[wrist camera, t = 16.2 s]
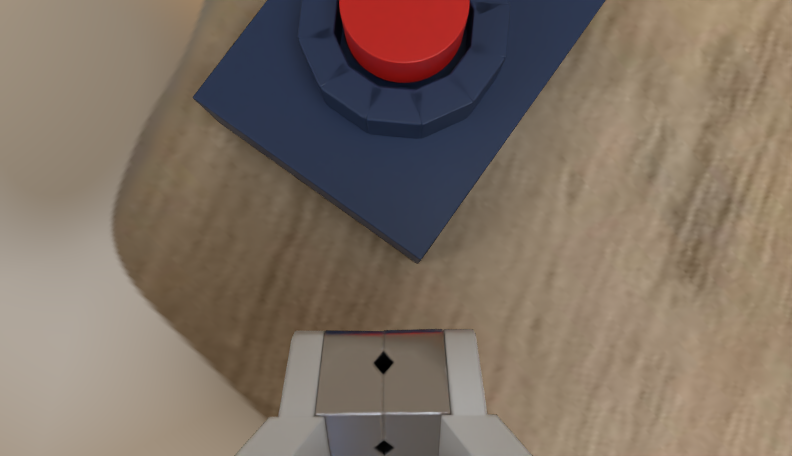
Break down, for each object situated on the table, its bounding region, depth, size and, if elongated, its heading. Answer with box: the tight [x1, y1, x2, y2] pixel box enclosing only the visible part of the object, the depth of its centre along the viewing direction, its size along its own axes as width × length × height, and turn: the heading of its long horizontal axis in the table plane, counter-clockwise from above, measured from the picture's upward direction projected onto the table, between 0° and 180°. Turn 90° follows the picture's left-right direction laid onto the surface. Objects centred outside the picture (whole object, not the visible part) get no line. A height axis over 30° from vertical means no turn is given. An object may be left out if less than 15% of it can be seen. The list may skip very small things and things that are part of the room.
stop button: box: [339, 0, 470, 83], centre depth 19 cm, size 4×4×2 cm
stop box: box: [193, 0, 605, 264], centre depth 22 cm, size 12×10×5 cm
